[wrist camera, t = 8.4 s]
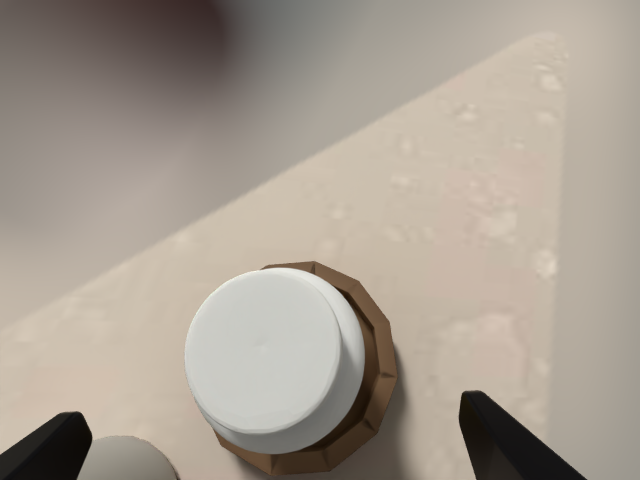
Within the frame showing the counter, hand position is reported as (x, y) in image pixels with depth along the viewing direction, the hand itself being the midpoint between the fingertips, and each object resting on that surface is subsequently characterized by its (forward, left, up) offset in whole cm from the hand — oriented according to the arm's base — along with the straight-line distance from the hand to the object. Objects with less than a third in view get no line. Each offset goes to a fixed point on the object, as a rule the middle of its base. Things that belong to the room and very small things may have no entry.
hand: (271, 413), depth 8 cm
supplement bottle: (+1, 0, -10) cm, 10 cm away
